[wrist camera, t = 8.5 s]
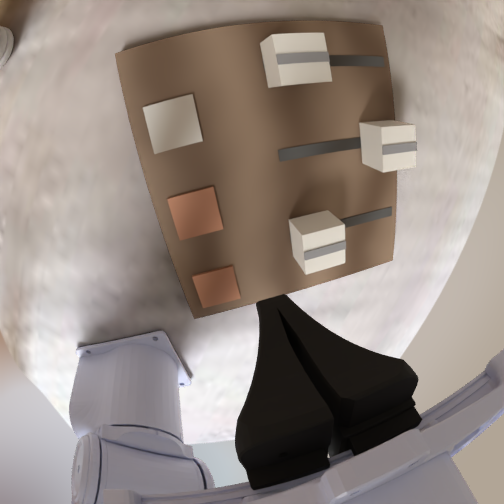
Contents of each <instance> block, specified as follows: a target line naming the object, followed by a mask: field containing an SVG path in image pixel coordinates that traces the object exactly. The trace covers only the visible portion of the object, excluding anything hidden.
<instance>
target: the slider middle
mask: <svg viewBox="0 0 504 504" xmlns="http://www.w3.org/2000/svg"><path fill="white" fill-rule="evenodd" d="M359 125H360V137H361V150H362V163H363V164H365V165H367V166H370V167H372V168H374V169H376V170H378V171H381V172H383V173H384V172H389V171H395V170H401V169H407V168H413V167H416V151H417V142H416V133H415V125H413V124H409V123H404V122H399V121H394V120H386V121H372V122H361V123H359Z"/></svg>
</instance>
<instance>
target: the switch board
mask: <svg viewBox="0 0 504 504" xmlns="http://www.w3.org/2000/svg"><path fill="white" fill-rule="evenodd" d="M287 33H324V36H325V41H326V47H327V52H328V53H329V59H330V62H329V64H330V70H331V76H332V82H320V83H308V84H297V85H288V86H279V87H272V88H268V83H267V78H266V72H265V67H264V62H263V57H262V52H261V46H260V43H261V42H262V41H264V40H265V39H266V38H268V37H269V36H270V35H272V34H287ZM115 57H116V62H117V67H118V72H119V77H120V82H121V87H122V91H123V96H124V100H125V104H126V108H127V113H128V117H129V121H130V125H131V129H132V133H133V137H134V140H135V144H136V148H137V151H138V155H139V159H140V162H141V166H142V169H143V173H144V176H145V180H146V183H147V186H148V190H149V193H150V196H151V199H152V202H153V206H154V209H155V212H156V215H157V218H158V221H159V224H160V227H161V230H162V233H163V236H164V239H165V242H166V245H167V248H168V251H169V253H170V256H171V259H172V262H173V265H174V267H175V270H176V273H177V275H178V278H179V281H180V283H181V286H182V289H183V291H184V294H185V297H186V299H187V302H188V304H189V307H190V309H191V312H192V314H193V317H194V319H196V318H200V317H204V316H208V315H212V314H216V313H220V312H224V311H228V310H231V309H235V308H239V307H242V306H246V305H250V304H253V303H257V302H258V301H261V300H264V299H268V298H271V297H275V296H278V295H282V294H289V293H292V292H295V291H299V290H302V289H305V288H309V287H312V286H315V285H318V284H322V283H325V282H328V281H331V280H335V279H338V278H341V277H344V276H347V275H350V274H353V273H356V272H359V271H362V270H365V269H368V268H371V267H374V266H377V265H380V264H383V263H386V262H389V261H392V260H393V251H394V238H395V223H396V199H397V170H395V171H389V172H384V173H383V172H381V171H378V170H376V169H374V168H372V167H370V166H367V165H365V164H363V163H362V150H361V137H360V125H359V123H361V122H372V121H386V120H394V121H395V113H394V101H393V91H392V82H391V74H390V67H389V60H388V54H387V48H386V42H385V36H384V31H383V26H382V25H374V24H365V23H354V22H340V21H274V22H260V23H249V24H240V25H232V26H225V27H218V28H212V29H206V30H201V31H196V32H191V33H186V34H182V35H177V36H173V37H169V38H165V39H161V40H157V41H154V42H150V43H147V44H143V45H140V46H137V47H133V48H130V49H127V50H124V51H121V52H118V53H116V54H115ZM326 210H328V211H330V212H331V213H332V214H333V215H334V216H336V217H337V218H338V219H339V220H340V221H341V222H343V223H344V224H345V241H346V249H345V263H344V264H340V265H337V266H334V267H331V268H327V269H324V270H321V271H317V272H314V273H310V274H307V275H306V274H305V273H304V271H303V270H302V268H301V267H300V265H299V264H298V262H297V261H296V260H295V258H294V257H293V250H292V242H291V234H290V226H289V219H293V218H297V217H301V216H305V215H309V214H313V213H318V212H322V211H326Z"/></svg>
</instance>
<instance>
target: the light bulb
mask: <svg viewBox="0 0 504 504" xmlns="http://www.w3.org/2000/svg"><path fill="white" fill-rule="evenodd" d="M13 42H14V39H13V34H12V32H11V30H10V29H8V28H6V27H2V26H0V69H1V68H2V67H3V66H4V64H5V63H6V62H7V60H8V58H9V56H10V54H11V51H12V48H13Z"/></svg>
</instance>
